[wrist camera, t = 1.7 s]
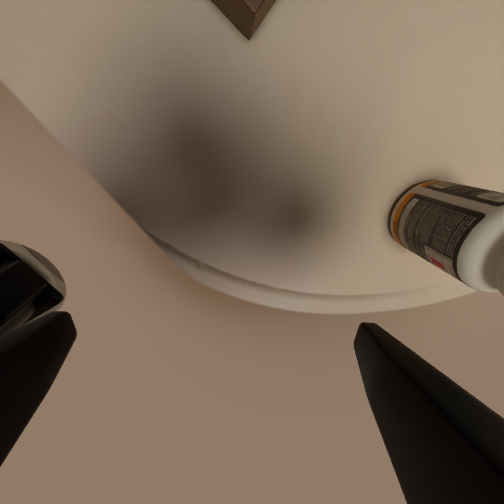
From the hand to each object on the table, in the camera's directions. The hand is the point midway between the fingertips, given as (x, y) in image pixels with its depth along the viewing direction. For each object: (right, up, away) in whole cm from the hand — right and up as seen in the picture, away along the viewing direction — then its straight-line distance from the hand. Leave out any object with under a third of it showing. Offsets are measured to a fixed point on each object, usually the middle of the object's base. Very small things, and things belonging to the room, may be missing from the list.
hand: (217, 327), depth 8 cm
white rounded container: (+15, +6, +13) cm, 20 cm away
